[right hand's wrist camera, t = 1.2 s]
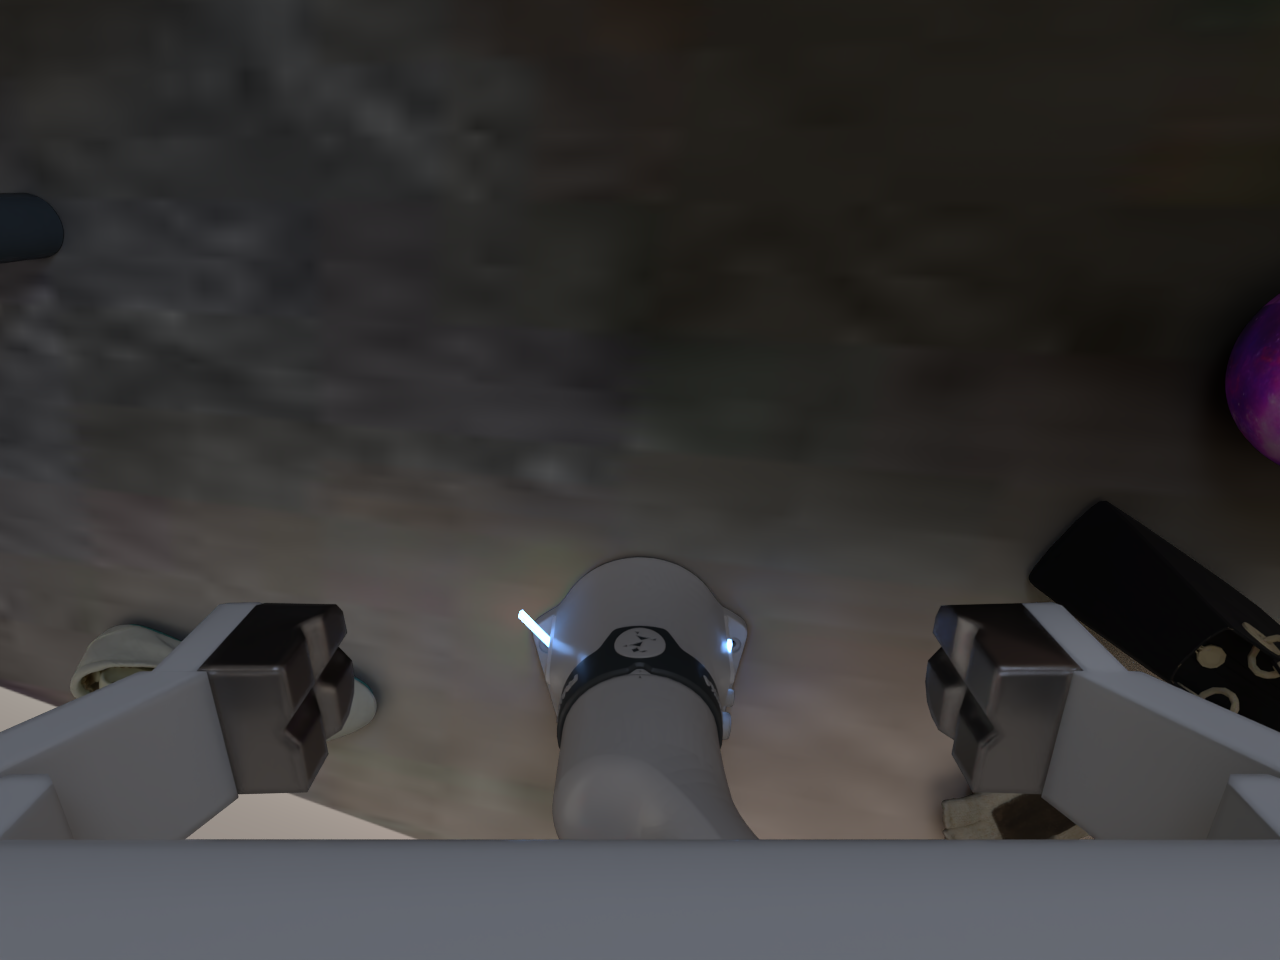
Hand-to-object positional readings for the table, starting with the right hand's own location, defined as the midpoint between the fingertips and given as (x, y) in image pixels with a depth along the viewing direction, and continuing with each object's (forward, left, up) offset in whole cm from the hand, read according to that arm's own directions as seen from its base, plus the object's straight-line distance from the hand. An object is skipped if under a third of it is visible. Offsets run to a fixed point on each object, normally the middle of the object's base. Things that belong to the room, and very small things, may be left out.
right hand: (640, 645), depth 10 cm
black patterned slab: (-27, -43, -48) cm, 70 cm away
